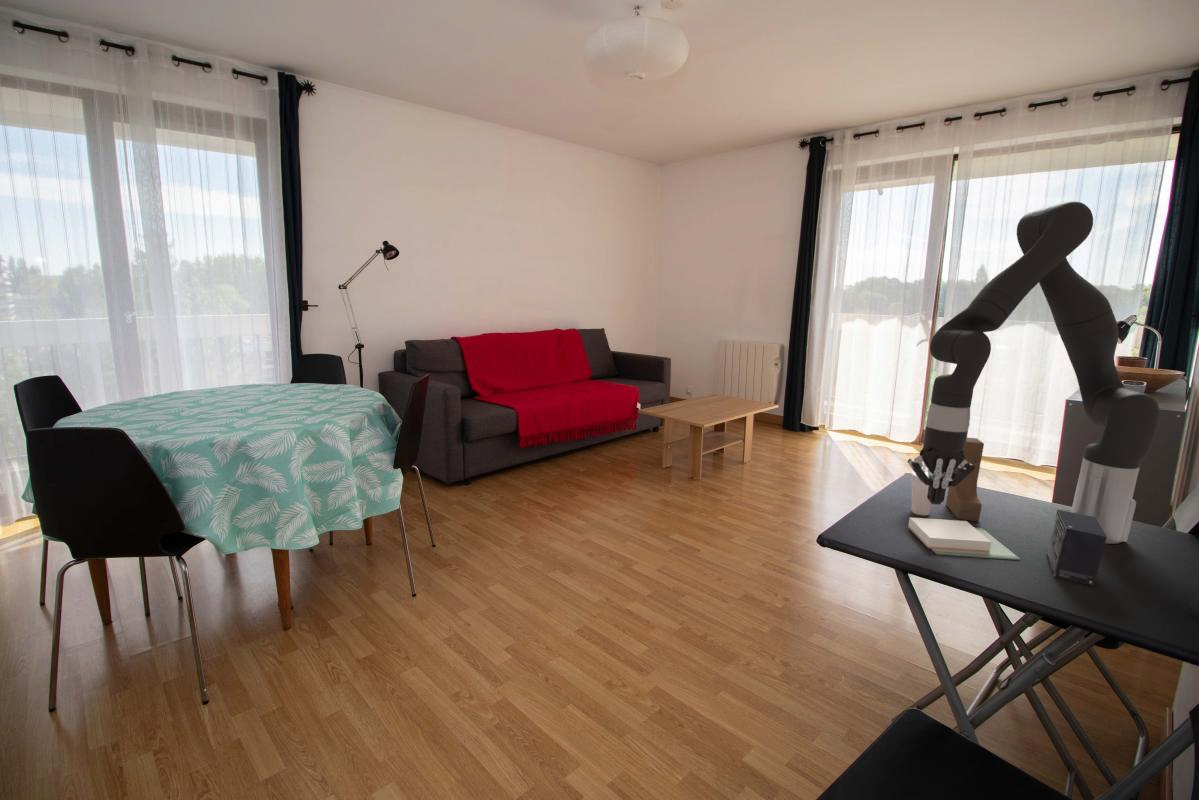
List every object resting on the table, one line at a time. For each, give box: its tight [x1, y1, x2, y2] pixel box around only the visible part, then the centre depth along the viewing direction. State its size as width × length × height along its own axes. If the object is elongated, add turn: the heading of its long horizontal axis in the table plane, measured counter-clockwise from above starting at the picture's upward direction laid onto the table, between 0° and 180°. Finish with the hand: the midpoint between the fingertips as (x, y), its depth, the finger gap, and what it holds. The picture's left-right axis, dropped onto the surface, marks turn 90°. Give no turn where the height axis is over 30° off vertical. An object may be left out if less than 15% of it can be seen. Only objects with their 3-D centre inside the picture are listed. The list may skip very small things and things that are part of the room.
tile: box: [907, 517, 991, 552], centre depth 121 cm, size 2×10×12 cm
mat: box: [907, 523, 1021, 561], centre depth 121 cm, size 16×14×1 cm
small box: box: [1046, 509, 1107, 587], centre depth 108 cm, size 11×6×10 cm, turn 148°
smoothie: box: [909, 463, 933, 516], centre depth 134 cm, size 6×6×14 cm
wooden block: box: [945, 437, 985, 522], centre depth 133 cm, size 9×4×18 cm, turn 166°
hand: (934, 503), depth 120 cm, fingers closed
